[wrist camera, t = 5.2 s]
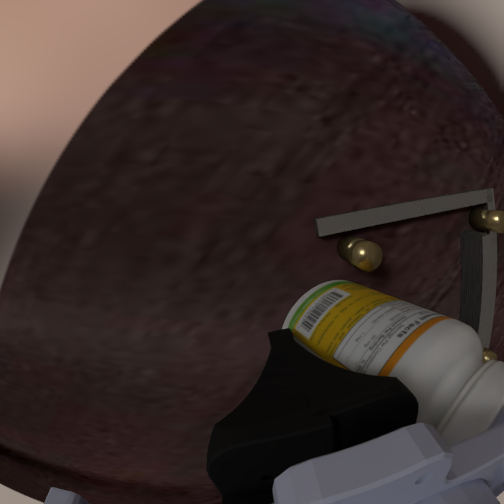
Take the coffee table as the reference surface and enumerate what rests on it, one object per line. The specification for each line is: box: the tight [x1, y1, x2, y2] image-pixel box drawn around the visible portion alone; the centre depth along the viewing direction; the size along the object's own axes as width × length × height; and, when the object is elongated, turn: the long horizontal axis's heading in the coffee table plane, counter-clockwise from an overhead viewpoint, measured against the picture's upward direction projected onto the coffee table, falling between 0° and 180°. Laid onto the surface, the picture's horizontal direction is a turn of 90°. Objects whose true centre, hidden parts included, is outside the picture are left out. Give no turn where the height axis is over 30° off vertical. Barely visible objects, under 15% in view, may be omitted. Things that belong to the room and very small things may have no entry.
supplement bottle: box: [282, 280, 504, 446], centre depth 9 cm, size 5×5×10 cm
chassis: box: [314, 188, 504, 364], centre depth 13 cm, size 12×12×2 cm
